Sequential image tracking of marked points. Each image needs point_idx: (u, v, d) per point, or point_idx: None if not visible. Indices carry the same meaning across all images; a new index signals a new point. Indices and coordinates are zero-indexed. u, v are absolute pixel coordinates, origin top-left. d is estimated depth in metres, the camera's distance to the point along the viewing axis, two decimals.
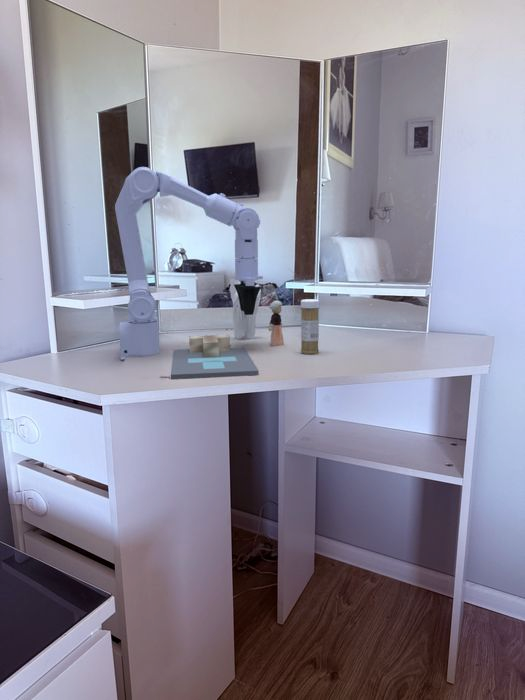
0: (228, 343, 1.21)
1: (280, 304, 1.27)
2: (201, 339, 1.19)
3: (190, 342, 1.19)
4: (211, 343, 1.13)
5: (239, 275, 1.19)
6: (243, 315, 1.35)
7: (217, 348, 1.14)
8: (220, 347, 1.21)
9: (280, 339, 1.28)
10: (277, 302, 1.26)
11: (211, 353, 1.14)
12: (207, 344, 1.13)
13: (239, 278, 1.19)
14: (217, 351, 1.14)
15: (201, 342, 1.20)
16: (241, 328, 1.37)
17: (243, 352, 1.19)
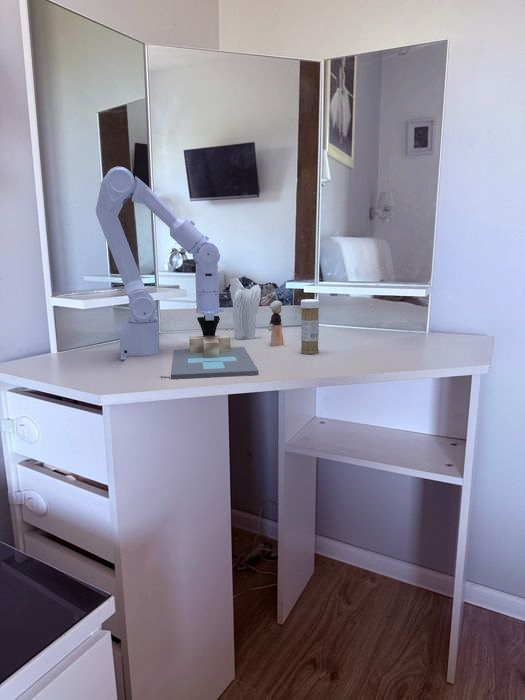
0: (229, 343, 1.20)
1: (280, 304, 1.27)
2: (201, 339, 1.19)
3: (190, 342, 1.19)
4: (211, 343, 1.13)
5: (200, 308, 1.20)
6: (243, 315, 1.35)
7: (217, 349, 1.13)
8: (220, 347, 1.20)
9: (280, 339, 1.28)
10: (277, 302, 1.26)
11: (211, 353, 1.13)
12: (207, 344, 1.13)
13: (200, 312, 1.19)
14: (217, 351, 1.13)
15: (201, 342, 1.19)
16: (241, 328, 1.37)
17: (243, 352, 1.19)
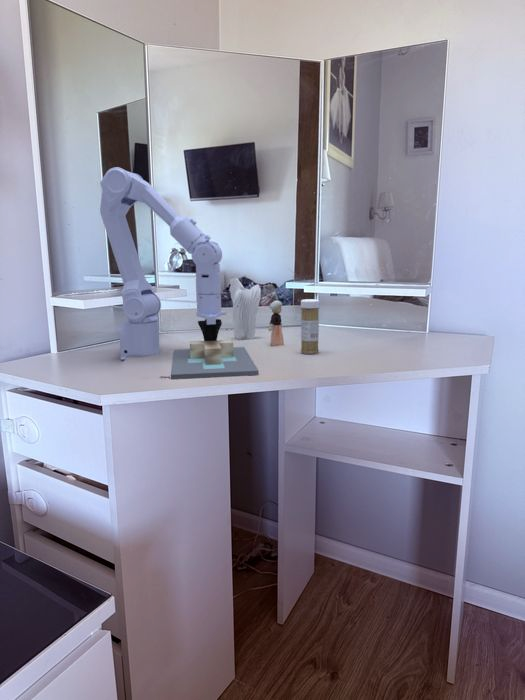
0: (231, 348, 1.13)
1: (280, 304, 1.27)
2: (202, 345, 1.12)
3: (191, 348, 1.12)
4: (213, 349, 1.06)
5: (201, 312, 1.13)
6: (243, 315, 1.35)
7: (219, 355, 1.06)
8: (223, 353, 1.13)
9: (280, 339, 1.28)
10: (277, 302, 1.26)
11: (213, 360, 1.06)
12: (209, 350, 1.06)
13: (200, 315, 1.12)
14: (220, 358, 1.07)
15: (202, 348, 1.12)
16: (241, 328, 1.37)
17: (243, 352, 1.19)
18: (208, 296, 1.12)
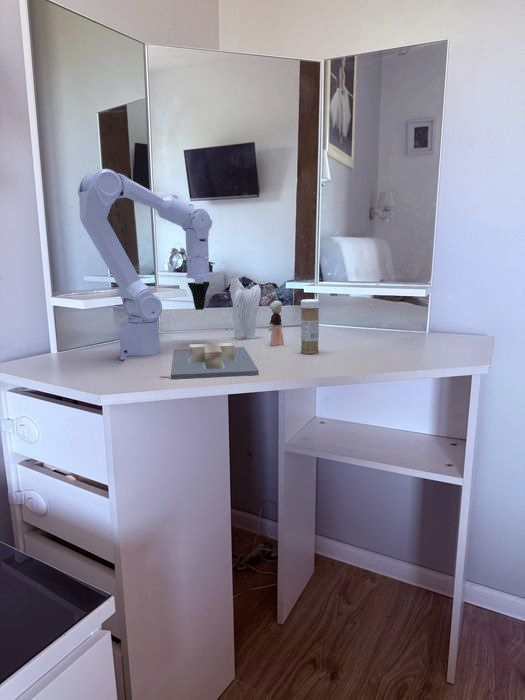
0: (233, 352, 1.10)
1: (280, 304, 1.27)
2: (203, 348, 1.08)
3: (190, 351, 1.08)
4: (214, 353, 1.03)
5: (190, 273, 1.24)
6: (243, 315, 1.35)
7: (220, 359, 1.03)
8: (224, 356, 1.10)
9: (280, 339, 1.28)
10: (277, 302, 1.26)
11: (213, 364, 1.03)
12: (209, 354, 1.02)
13: (190, 276, 1.23)
14: (220, 361, 1.03)
15: (203, 351, 1.09)
16: (241, 328, 1.37)
17: (243, 352, 1.19)
18: (197, 258, 1.23)
